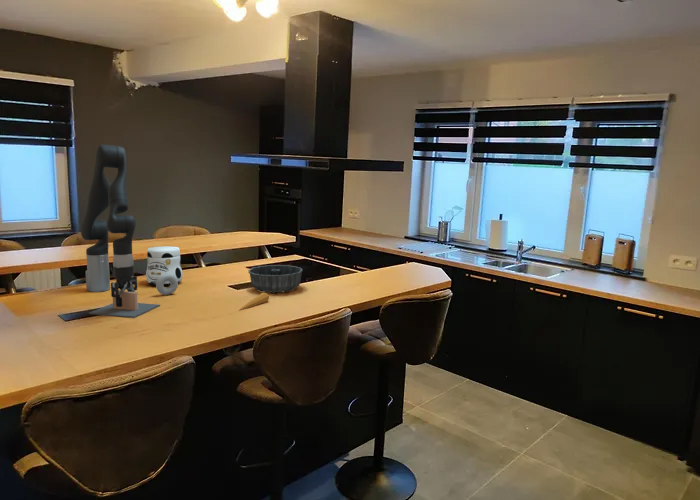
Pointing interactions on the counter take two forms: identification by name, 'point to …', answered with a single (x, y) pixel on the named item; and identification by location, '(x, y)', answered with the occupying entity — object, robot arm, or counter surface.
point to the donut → (162, 280)
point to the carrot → (257, 300)
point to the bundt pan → (275, 278)
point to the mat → (124, 310)
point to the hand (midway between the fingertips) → (125, 304)
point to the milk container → (163, 263)
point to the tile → (127, 301)
